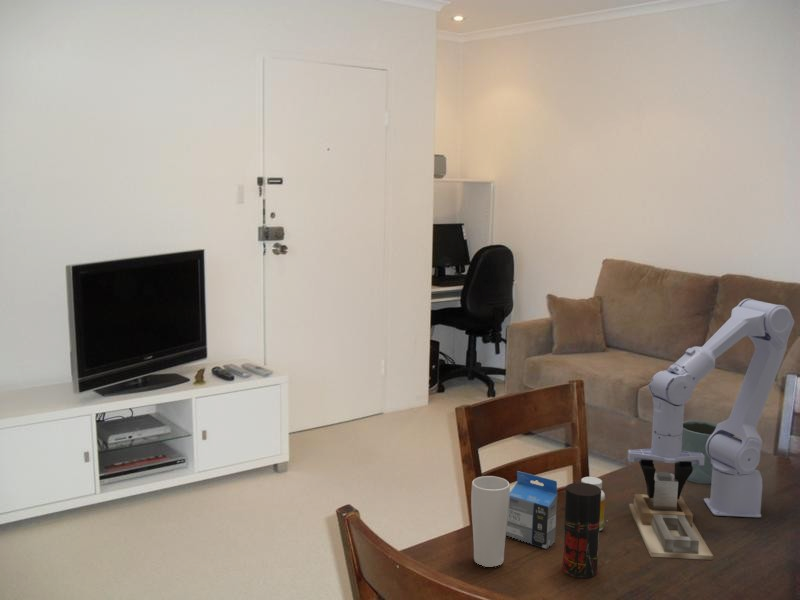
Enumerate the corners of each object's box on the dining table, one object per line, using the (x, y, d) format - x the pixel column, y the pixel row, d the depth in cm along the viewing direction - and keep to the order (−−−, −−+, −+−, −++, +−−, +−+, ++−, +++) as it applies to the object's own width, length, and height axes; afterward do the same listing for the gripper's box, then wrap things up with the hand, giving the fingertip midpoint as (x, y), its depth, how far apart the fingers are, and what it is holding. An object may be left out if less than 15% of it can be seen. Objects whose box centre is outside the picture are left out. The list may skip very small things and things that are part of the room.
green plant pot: (673, 467, 192) (676, 419, 190) (717, 470, 191) (721, 421, 189) (681, 484, 182) (685, 432, 180) (728, 486, 181) (732, 435, 179)
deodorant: (558, 562, 145) (562, 483, 143) (590, 561, 146) (594, 482, 143) (568, 578, 139) (571, 496, 137) (601, 577, 140) (606, 495, 137)
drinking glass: (497, 575, 140) (500, 493, 138) (463, 564, 144) (464, 484, 141) (513, 559, 146) (516, 480, 144) (480, 550, 149) (482, 472, 147)
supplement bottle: (601, 521, 162) (603, 475, 160) (605, 533, 157) (607, 486, 155) (574, 520, 163) (576, 474, 161) (577, 532, 157) (579, 484, 156)
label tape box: (504, 537, 155) (506, 476, 153) (515, 529, 158) (517, 470, 156) (546, 550, 150) (548, 487, 148) (556, 542, 153) (558, 480, 151)
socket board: (683, 509, 168) (684, 494, 167) (712, 559, 146) (714, 542, 146) (629, 507, 169) (629, 492, 169) (650, 556, 147) (651, 539, 147)
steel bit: (670, 506, 165) (673, 470, 164) (676, 515, 161) (678, 478, 159) (648, 505, 165) (650, 469, 164) (652, 514, 161) (655, 477, 160)
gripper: (633, 436, 157) (629, 502, 159) (710, 439, 156) (705, 506, 158) (627, 425, 164) (623, 489, 166) (700, 428, 162) (696, 492, 165)
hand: (663, 496), depth 162 cm, fingers closed on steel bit, 4 cm apart
